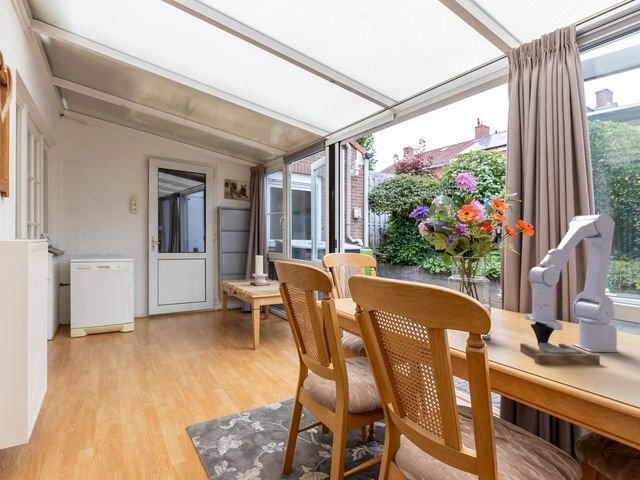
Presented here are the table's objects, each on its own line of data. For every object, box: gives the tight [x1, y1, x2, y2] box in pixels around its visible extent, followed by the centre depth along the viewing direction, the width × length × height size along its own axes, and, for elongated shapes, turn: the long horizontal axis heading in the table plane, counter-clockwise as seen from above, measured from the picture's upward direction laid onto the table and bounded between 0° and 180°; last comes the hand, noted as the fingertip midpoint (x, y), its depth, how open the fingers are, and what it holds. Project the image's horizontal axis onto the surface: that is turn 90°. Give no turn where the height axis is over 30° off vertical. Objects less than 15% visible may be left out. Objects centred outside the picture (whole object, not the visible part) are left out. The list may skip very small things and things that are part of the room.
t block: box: [538, 342, 578, 354], centre depth 104 cm, size 8×9×3 cm
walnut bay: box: [519, 342, 601, 365], centre depth 103 cm, size 18×12×2 cm, turn 91°
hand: (542, 347), depth 109 cm, fingers closed
